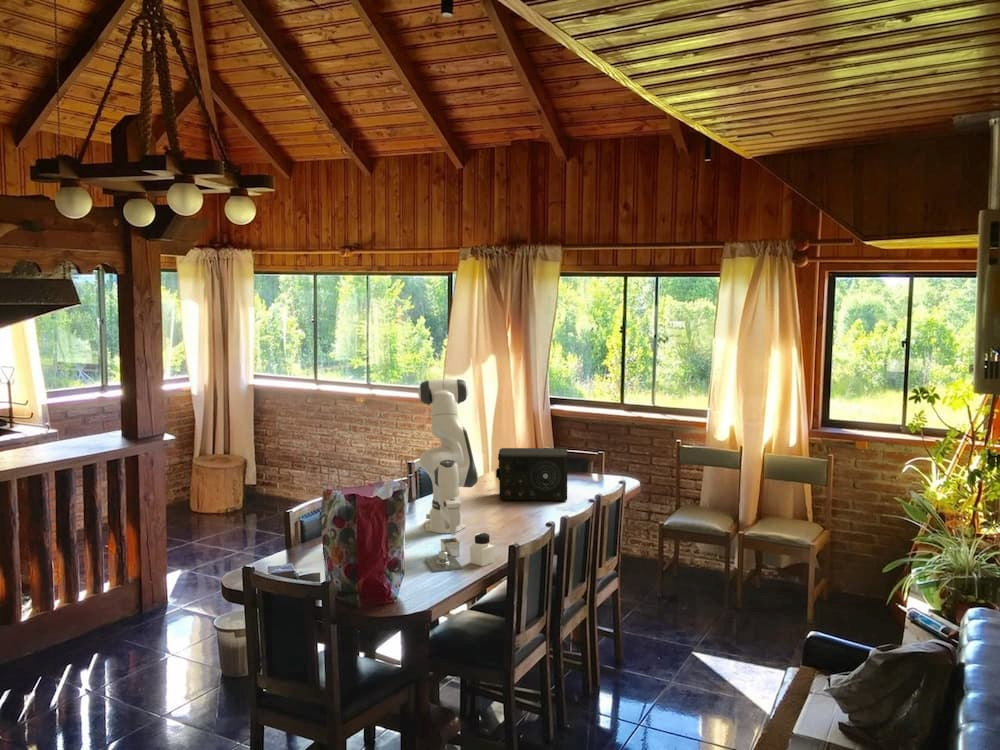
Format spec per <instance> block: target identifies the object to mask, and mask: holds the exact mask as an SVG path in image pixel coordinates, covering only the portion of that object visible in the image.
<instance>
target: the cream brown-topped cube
mask: <svg viewBox="0 0 1000 750" xmlns="http://www.w3.org/2000/svg"><path fill="white" fill-rule="evenodd" d="M460 544H461V543H460V541H459V539H457V537H451V538H450V537H449V538H440V551H447V556H454V558H456V557H460Z"/></svg>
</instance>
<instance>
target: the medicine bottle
mask: <svg viewBox="0 0 1000 750" xmlns="http://www.w3.org/2000/svg"><path fill="white" fill-rule="evenodd" d="M490 543H491V542H490V534H489V533H486V532H478V533H476V534H475V535H474V544H473V545H470V547H469V548H470V549H469V551H470V553H469V554H470V557H469V558H470V560H469V561H470V563H471V564H474V565H476V566H477V565H478V566H481V567H485V566H487V565H490V564H493V563H494V562H495V546H494V545H493V544H490Z"/></svg>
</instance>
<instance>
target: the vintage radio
mask: <svg viewBox="0 0 1000 750" xmlns="http://www.w3.org/2000/svg"><path fill="white" fill-rule="evenodd" d="M568 455H569V454H568V449H567V448H563V447H560V448H557V447H556V448H555V447H554V448H550V447H549V448H547V447H544V448H541V447H540V448H539V447H537V448H536V447H532V448H531V447H530V448H529V447H526V448H523V447H518V448H517V447H501V448H499V450H498V454H497V461H498V466H497V467H496V471H495V473H496V474H495V476H496V477H495V478H496V479H498V483H499V500H500V501H503V502H508V501H558V502H562V503H563V501H568V472H569V471H568Z"/></svg>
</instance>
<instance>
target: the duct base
mask: <svg viewBox="0 0 1000 750" xmlns="http://www.w3.org/2000/svg"><path fill="white" fill-rule="evenodd" d="M424 562H425V563H426V565H427V566H428V568H429V569H430V571H431V572H432V573H436V572H437V573H438V572H439V573H440V572H446V571H447V572H449V571H454V570H455V571H457V570H462V569H463V566H462V565H461V564H460V563H459V561H458V560H457V558H456V557H454V556H447V551H441V550H440V551H438V557H429V558H428V557H427V558H424Z"/></svg>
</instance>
